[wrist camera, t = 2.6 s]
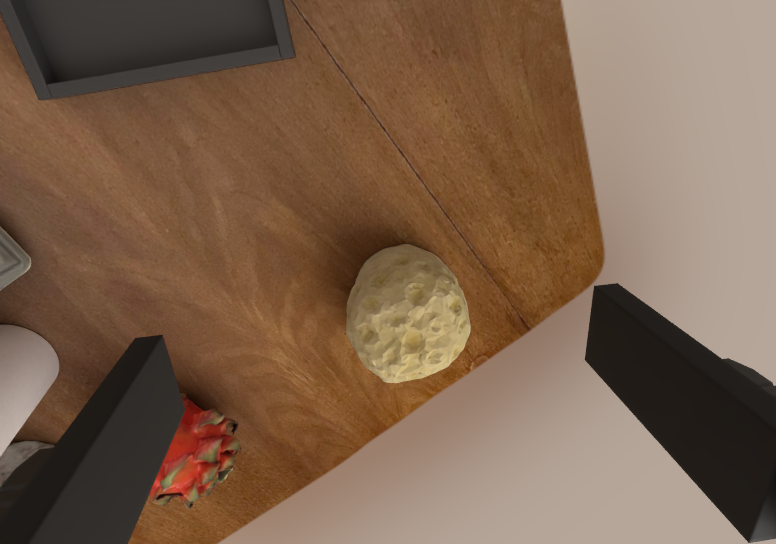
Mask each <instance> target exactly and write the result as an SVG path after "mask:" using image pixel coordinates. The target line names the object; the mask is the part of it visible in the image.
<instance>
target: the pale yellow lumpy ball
mask: <svg viewBox="0 0 776 544" xmlns="http://www.w3.org/2000/svg"><path fill="white" fill-rule="evenodd" d="M468 316H469V315H468V307H467V302H466V299H465V297H464V294H463V291H462V289H461V286H459V284H458V280H457V278H456V277H455V275H454V274H453V273H452V272H451V271H450V270H449V269H448V268H447V266H446V265H445V264H444V263H443V262H442V260H441V259H440V258H438V257H437V256H436V255H434V254H433V253H431V252H428V251H426V250H423V249H421V248H418V247H415V246H414V245H410V244H402V245H399V246H395V247H390V248H384V249H382V250H381V251H379V252H377V253H375V254H374V255H373V256H371V257H370V258H369V259H368V260H367V261H366V262H365V263H364V265H363V267H362V268H361V269H360V271H359V274H358V276H357V279H356V282H355V285H354V287H353V288H352V289H351V292H350V295H349V299H348V301H347V320H346V325H347V326H346V328H345V331H346V334H347V336H348V339H349V340H350V342H351V344H352V346H353V349H355V350H356V353H357V355H358V356H359V358H360V360H361V361H362V363H363V364H364V365H365V367H366V368H367V369H369V370H371V371H372V372H373V374H376V375H378V376H379V377H380V378H381V379H382V380H383V381H384V382H388V383H390V382H394V383H398V382H402V381H409V380H413V379H415V380H416V379H420V378H424V377H426V376H428V375H430V374H434V373H436V372H438V371H440V370H442V369H445V368H446V367H448V366H449V365H450V364H451V362H452V361H454V360H455V359H456V358H457V356H458V355H459V354H460V353H461V351H462V350H463V348H464V347H465V343H466V341H467V339H468V336H469V334H470V332H471V329H470V327H471V325H470V320H469V317H468Z"/></svg>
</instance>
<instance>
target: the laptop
mask: <svg viewBox="0 0 776 544" xmlns="http://www.w3.org/2000/svg"><path fill="white" fill-rule="evenodd" d="M30 266H31V259H30V257H29V255H28V254H27V253H26V252H25V251H24V250H23V249H22V248H21V247H20V246H19V245H18V244H17V243H16V242H15V241H14V240H13V239H12V238H11V237H10V236H9V235H8V234H7V233H6V232H5V231H4V230H3V229H2V228H1V226H0V290H1V289H3V288H4V287H6V286H7V285H9V284H10V283H11V282H13V281H14V280H16V279H17V278H18V277H20V276H21V275H23V274H24V273H25V272H26V271H28V270H29V268H30Z"/></svg>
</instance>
